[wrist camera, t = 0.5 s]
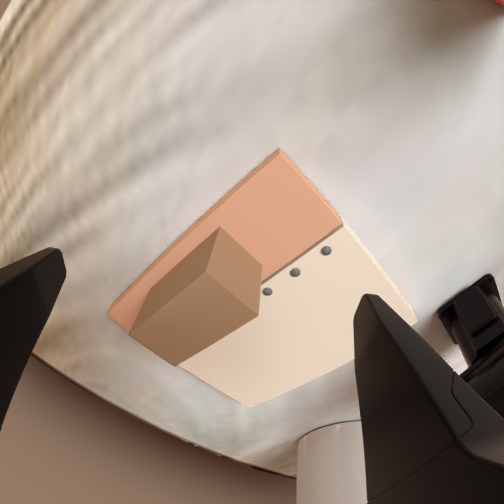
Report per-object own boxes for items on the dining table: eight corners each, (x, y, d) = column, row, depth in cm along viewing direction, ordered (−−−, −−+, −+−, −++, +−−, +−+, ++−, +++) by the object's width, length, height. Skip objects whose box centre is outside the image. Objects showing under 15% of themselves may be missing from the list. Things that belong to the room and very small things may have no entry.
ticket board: (412, 310, 26) (418, 322, 24) (250, 396, 34) (249, 408, 32) (340, 215, 21) (344, 226, 20) (164, 341, 30) (160, 354, 28)
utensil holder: (402, 437, 40) (417, 533, 25) (321, 463, 46) (323, 551, 31) (373, 406, 34) (391, 534, 20) (275, 437, 40) (269, 550, 25)
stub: (337, 213, 21) (358, 268, 16) (162, 340, 29) (143, 395, 24) (279, 147, 19) (281, 182, 14) (112, 303, 27) (84, 356, 22)
